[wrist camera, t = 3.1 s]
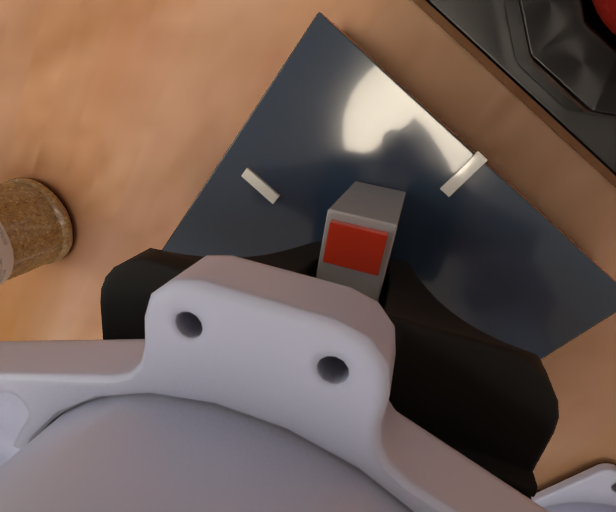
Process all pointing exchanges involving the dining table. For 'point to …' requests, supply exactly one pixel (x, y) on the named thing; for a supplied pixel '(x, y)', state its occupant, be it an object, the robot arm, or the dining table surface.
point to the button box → (546, 63)
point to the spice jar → (31, 227)
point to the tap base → (400, 176)
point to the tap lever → (360, 237)
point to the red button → (607, 12)
